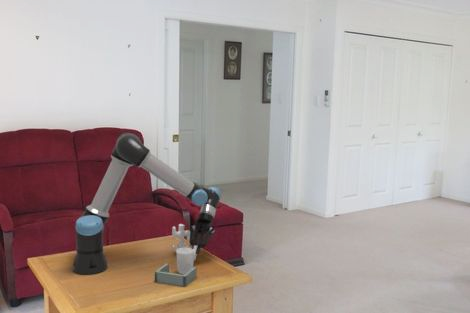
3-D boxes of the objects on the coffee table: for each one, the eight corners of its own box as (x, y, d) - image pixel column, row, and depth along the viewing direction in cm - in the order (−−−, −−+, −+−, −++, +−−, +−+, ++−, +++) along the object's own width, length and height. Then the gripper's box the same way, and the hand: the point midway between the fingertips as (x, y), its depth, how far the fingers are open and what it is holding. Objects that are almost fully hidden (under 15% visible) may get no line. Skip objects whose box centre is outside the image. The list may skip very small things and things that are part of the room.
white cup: (191, 275, 211) (191, 254, 209) (174, 274, 212) (174, 252, 211) (196, 269, 218) (196, 248, 217) (179, 268, 220) (179, 247, 218)
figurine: (192, 254, 239) (192, 225, 237) (175, 257, 234) (175, 227, 232) (187, 250, 245) (187, 221, 243) (170, 252, 241) (169, 223, 239)
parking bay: (154, 281, 203) (154, 271, 203) (166, 272, 214) (166, 263, 213) (185, 286, 199) (185, 276, 198) (196, 277, 209) (196, 267, 209)
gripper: (220, 221, 236) (207, 264, 222) (196, 218, 240) (182, 261, 227) (216, 213, 230) (203, 257, 217) (192, 210, 234) (177, 253, 221)
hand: (192, 259), depth 222 cm, fingers closed
